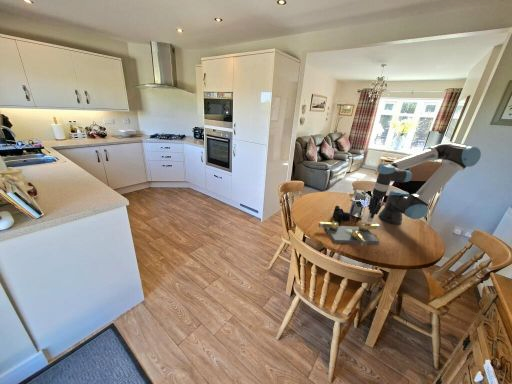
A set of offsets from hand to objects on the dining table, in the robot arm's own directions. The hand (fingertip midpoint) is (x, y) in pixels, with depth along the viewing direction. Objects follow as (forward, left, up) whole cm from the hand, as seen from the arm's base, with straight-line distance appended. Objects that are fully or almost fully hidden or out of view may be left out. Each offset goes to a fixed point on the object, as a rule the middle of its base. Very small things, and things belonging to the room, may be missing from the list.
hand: (369, 221), depth 141 cm
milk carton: (0, -19, -6) cm, 19 cm away
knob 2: (+3, +5, -3) cm, 7 cm away
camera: (+15, -8, -6) cm, 18 cm away
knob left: (+17, +18, -3) cm, 25 cm away
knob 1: (+30, +6, -3) cm, 31 cm away
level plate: (+17, +9, -6) cm, 20 cm away
